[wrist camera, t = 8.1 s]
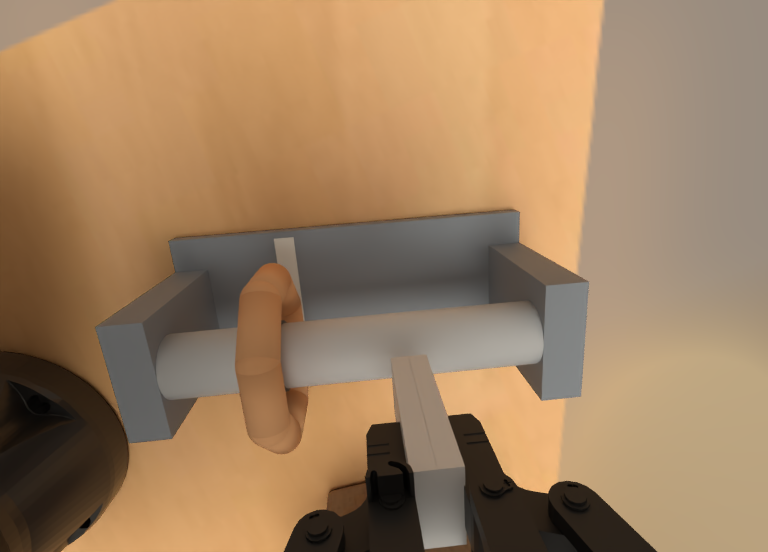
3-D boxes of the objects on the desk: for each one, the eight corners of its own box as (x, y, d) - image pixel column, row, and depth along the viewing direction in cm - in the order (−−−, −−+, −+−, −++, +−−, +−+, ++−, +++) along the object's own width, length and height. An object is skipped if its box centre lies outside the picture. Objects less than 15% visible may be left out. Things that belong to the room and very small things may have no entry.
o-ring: (286, 388, 27) (253, 498, 18) (264, 251, 24) (215, 306, 16) (314, 385, 27) (296, 493, 18) (296, 248, 24) (264, 301, 16)
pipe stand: (205, 376, 30) (137, 479, 21) (175, 238, 27) (80, 284, 18) (511, 347, 31) (580, 432, 21) (513, 209, 28) (593, 239, 19)
